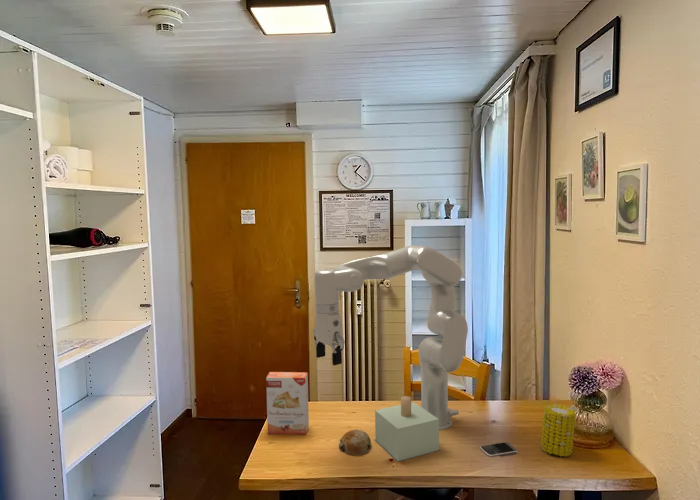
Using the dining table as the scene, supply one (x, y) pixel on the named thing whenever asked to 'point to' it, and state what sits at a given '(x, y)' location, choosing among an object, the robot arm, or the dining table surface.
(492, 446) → the cell phone
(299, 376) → the cracker box
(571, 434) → the food
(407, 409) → the pale green box
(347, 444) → the bread roll
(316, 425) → the dining table surface
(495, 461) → the dining table surface
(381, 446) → the mat
